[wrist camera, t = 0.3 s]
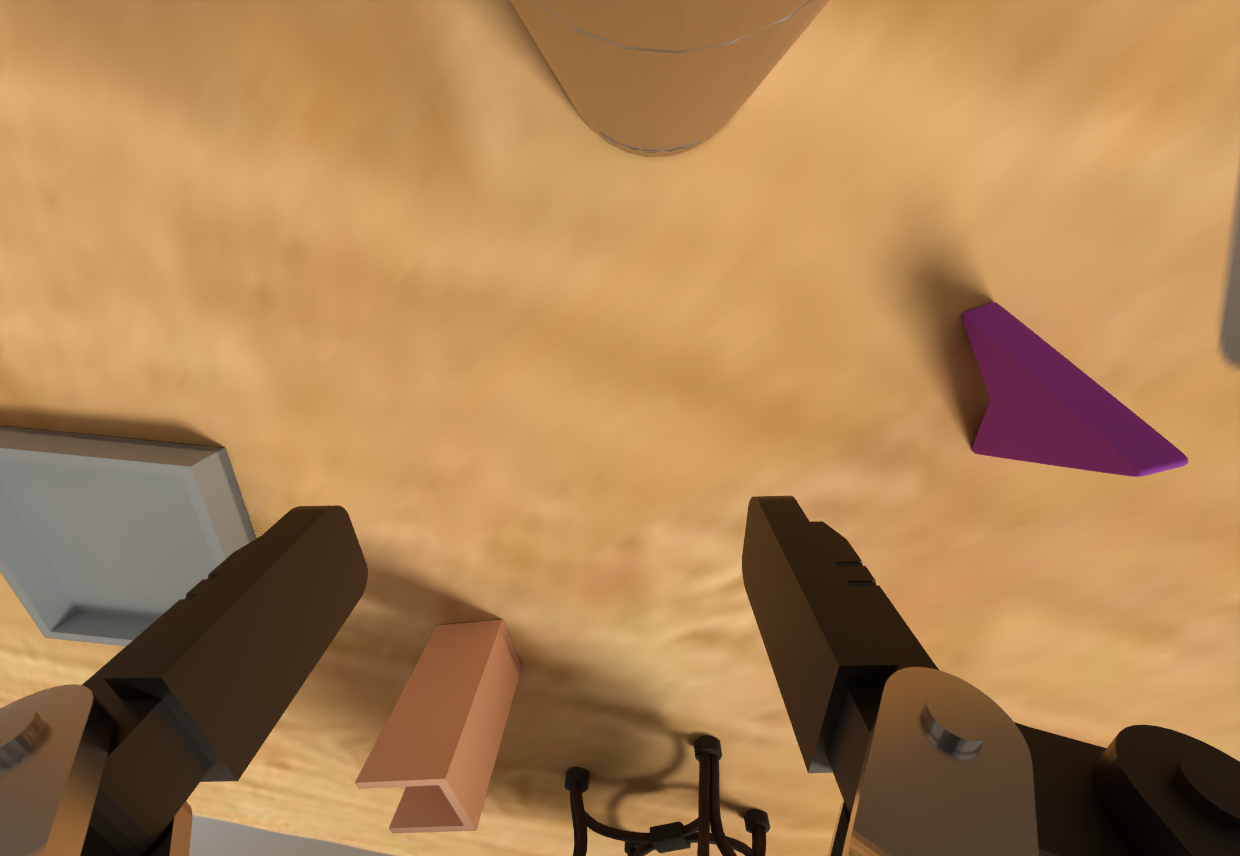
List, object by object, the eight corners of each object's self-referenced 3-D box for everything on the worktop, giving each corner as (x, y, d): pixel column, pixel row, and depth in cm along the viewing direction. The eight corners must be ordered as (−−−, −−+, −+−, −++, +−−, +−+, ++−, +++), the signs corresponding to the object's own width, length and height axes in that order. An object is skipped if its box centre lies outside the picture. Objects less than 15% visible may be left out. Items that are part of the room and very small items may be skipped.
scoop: (436, 625, 35) (354, 782, 25) (502, 619, 35) (445, 778, 25) (459, 671, 38) (392, 833, 28) (521, 667, 37) (476, 830, 27)
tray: (-34, 422, 29) (-90, 439, 27) (225, 447, 29) (190, 466, 27) (81, 612, 37) (45, 637, 35) (288, 633, 37) (264, 660, 34)
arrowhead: (948, 356, 29) (1037, 503, 25) (922, 364, 29) (1006, 511, 25) (1034, 254, 20) (1194, 463, 16) (994, 268, 20) (1141, 476, 16)
